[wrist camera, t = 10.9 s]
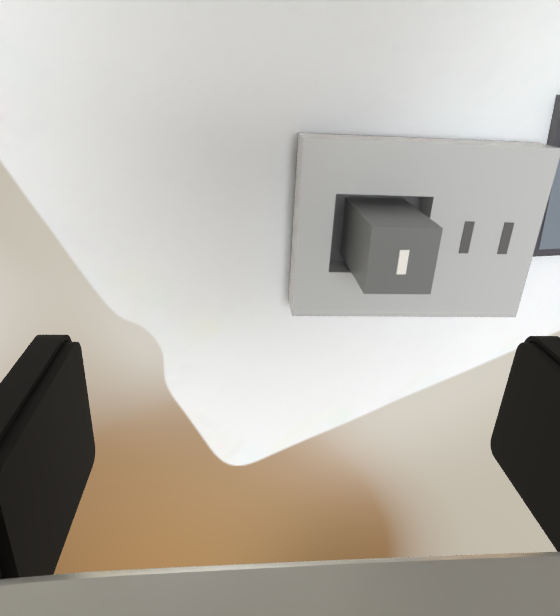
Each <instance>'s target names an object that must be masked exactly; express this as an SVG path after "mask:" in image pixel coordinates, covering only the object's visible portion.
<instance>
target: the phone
mask: <svg viewBox="0 0 560 616" xmlns="http://www.w3.org/2000/svg"><path fill="white" fill-rule="evenodd" d="M547 145H551V146H555V147H559V148H560V95H556V100H555V105H554V110H553V115H552V120H551V125H550V130H549V135H548V140H547ZM552 255H560V158H559V162H558V166H557V169H556V173H555V177H554V180H553V184H552V187H551V191H550V195H549V198H548V202H547V206H546V209H545V213H544V216H543V220H542V224H541V227H540V231H539V234H538V238H537V242H536V245H535V249H534V253H533V256H552Z"/></svg>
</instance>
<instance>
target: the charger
mask: <svg viewBox="0 0 560 616" xmlns="http://www.w3.org/2000/svg"><path fill="white" fill-rule="evenodd" d="M442 231H443V228H442V227H441V226H439V225H438V224H437V223H435V222H434V221H433V220H431V219H430V218H429V217H427V216H426V215H425V214H423V213H422V212H421V211H419V210H418V209H417V208H415V207H414V206H413V205H411V204H410V203H409V202H407V201H406V200H405V199H403V198H373V197H346V199H345V209H344V219H343V229H342V239H341V249H340V254H341V255H342V257H343V259H344V260H345V262H346V264H347V266H348V267H349V269H350V271H351V273H352V274H353V276H354V278H355V279H356V281H357V283H358V285H359V286H360V288H361V290H362V292H363V293H364V294H431V289H432V284H433V279H434V274H435V268H436V263H437V258H438V252H439V247H440V242H441V236H442Z"/></svg>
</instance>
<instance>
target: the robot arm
mask: <svg viewBox="0 0 560 616" xmlns="http://www.w3.org/2000/svg"><path fill="white" fill-rule="evenodd" d="M491 450H492V454H493V456H494V457H495V459H496V460H497V462H498V463H499V465H500V466H501V468H502V469H503V471H504V472H505V474H506V475H507V477H508V478H509V480H510V481H511V483H512V484H513V486H514V487H515V489H516V490H517V492H518V493H519V494H520V496H521V498H522V499H523V501H524V502H525V504H526V505H527V507H528V508H529V510H530V511H531V513H532V514H533V516H534V517H535V518H536V520H537V522H538V523H539V524H540V526H541V527H542V529H543V530H544V532H545V533H546V535H547V536H548V538H549V539H550V541H551V542H552V544H553V545H554V547H555V548H556V550H557V551H558V552H542V553H511V554H482V555H456V556H430V557H404V558H379V559H357V560H356V559H355V560H332V561H331V560H330V561H307V562H285V563H262V564H241V565H219V566H196V567H174V568H153V569H135V570H116V571H97V572H82V573H70V574H56V575H53V574H54V571H55V568H56V565H57V563H58V560H59V557H60V555H61V552H62V549H63V546H64V543H65V541H66V538H67V535H68V532H69V530H70V526H71V524H72V521H73V519H74V516H75V513H76V510H77V507H78V505H79V502H80V499H81V497H82V494H83V491H84V488H85V486H86V483H87V480H88V477H89V475H90V472H91V469H92V466H93V463H94V458H95V443H94V436H93V430H92V422H91V415H90V408H89V401H88V393H87V386H86V379H85V372H84V365H83V358H82V351H81V346H80V344H79V342H72V341H71V339H70V337H69V336H68V335H37V336H36V337H35V338H34V340H33V341H32V342H31V343H30V345H29V346H28V347H27V349H26V350H25V352H24V353H23V354H22V356H21V357H20V358H19V359H18V361H17V362H16V363H15V365H14V366H13V367H12V369H11V370H10V371H9V373H8V374H7V376H6V377H5V378H4V379H3V381H2V382H1V383H0V616H560V338H559V337H558V336H530V337H528V338H527V339H526V340H525V342H524V343H521V344H519V346H518V347H517V350H516V353H515V357H514V360H513V364H512V367H511V371H510V374H509V378H508V381H507V385H506V388H505V392H504V395H503V399H502V402H501V406H500V409H499V413H498V416H497V420H496V423H495V427H494V430H493V434H492V437H491Z"/></svg>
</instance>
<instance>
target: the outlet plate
mask: <svg viewBox="0 0 560 616" xmlns="http://www.w3.org/2000/svg"><path fill="white" fill-rule="evenodd" d="M559 158H560V148H559V147H555V146H551V145H546V144H542V143H534V142H509V141H485V140H461V139H436V138H412V137H388V136H363V135H339V134H315V133H298V150H297V167H296V184H295V200H294V217H293V234H292V251H291V268H290V284H289V303H290V308H291V312H292V316H417V317H516V314H517V311H518V307H519V303H520V300H521V296H522V292H523V289H524V285H525V282H526V278H527V274H528V271H529V267H530V263H531V260H532V256H533V253H534V249H535V245H536V242H537V238H538V234H539V231H540V227H541V224H542V220H543V216H544V213H545V209H546V206H547V202H548V198H549V195H550V191H551V187H552V184H553V180H554V177H555V173H556V169H557V166H558V162H559ZM346 197H373V198H403V199H405V200H406V201H407V202H409V203H410V204H411V205H413V206H414V207H415V208H417V209H418V210H419V211H421V212H422V213H423V214H425V215H426V216H427V217H429V218H430V219H431V220H433V221H434V222H435V223H437V224H438V225H439V226H441V227H442V228H443V231H442V236H441V242H440V247H439V252H438V258H437V263H436V268H435V274H434V279H433V284H432V289H431V294H364V293H363V292H362V290H361V288H360V286H359V285H358V283H357V281H356V279H355V278H354V276H353V274H352V273H351V271H350V269H349V267H348V266H347V264H346V262H345V260H344V259H343V257H342V255H341V254H340V249H341V239H342V229H343V219H344V209H345V199H346Z"/></svg>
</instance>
